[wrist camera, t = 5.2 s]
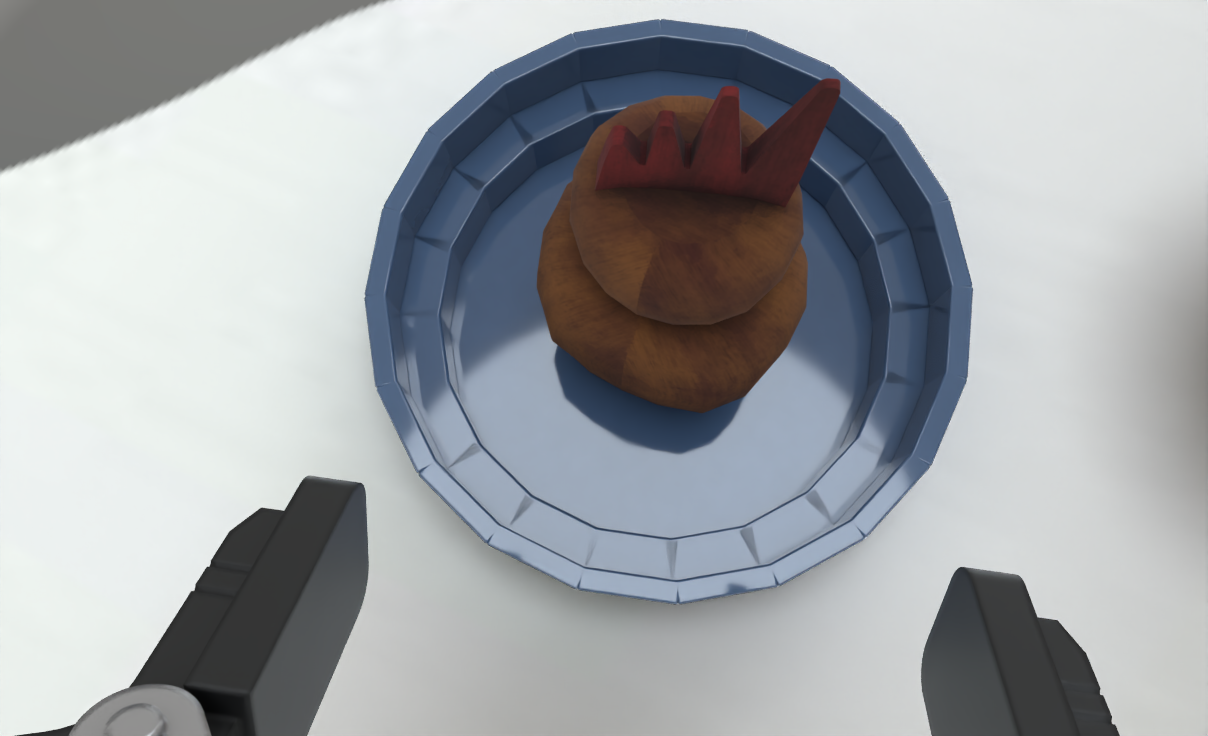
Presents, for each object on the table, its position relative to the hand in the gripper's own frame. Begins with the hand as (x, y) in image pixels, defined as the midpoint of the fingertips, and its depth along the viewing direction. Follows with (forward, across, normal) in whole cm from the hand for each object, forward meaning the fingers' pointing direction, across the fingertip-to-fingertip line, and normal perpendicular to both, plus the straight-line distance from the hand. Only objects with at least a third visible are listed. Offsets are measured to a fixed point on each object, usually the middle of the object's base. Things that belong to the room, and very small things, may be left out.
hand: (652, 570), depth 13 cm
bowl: (+16, 0, -6) cm, 17 cm away
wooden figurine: (+16, 0, -6) cm, 17 cm away
